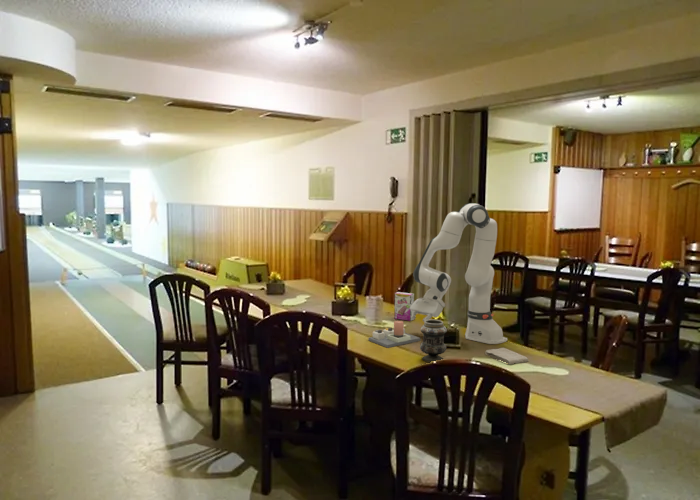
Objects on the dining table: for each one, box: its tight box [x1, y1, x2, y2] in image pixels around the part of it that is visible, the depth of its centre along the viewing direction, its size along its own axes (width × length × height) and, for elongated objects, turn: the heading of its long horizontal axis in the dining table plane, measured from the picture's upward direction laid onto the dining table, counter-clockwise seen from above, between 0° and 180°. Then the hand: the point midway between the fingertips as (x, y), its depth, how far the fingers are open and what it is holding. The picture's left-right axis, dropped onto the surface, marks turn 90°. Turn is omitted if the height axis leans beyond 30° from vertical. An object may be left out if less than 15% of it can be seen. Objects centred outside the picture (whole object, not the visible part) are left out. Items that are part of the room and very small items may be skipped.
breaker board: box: [367, 327, 421, 349], centre depth 262 cm, size 16×22×6 cm
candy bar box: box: [394, 291, 415, 322], centre depth 307 cm, size 11×5×16 cm, turn 58°
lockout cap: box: [393, 320, 405, 338], centre depth 259 cm, size 5×5×9 cm
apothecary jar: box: [419, 318, 448, 363], centre depth 231 cm, size 12×12×18 cm
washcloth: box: [484, 347, 529, 365], centre depth 234 cm, size 12×18×3 cm, turn 24°
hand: (418, 320), depth 265 cm, fingers open, 8 cm apart
